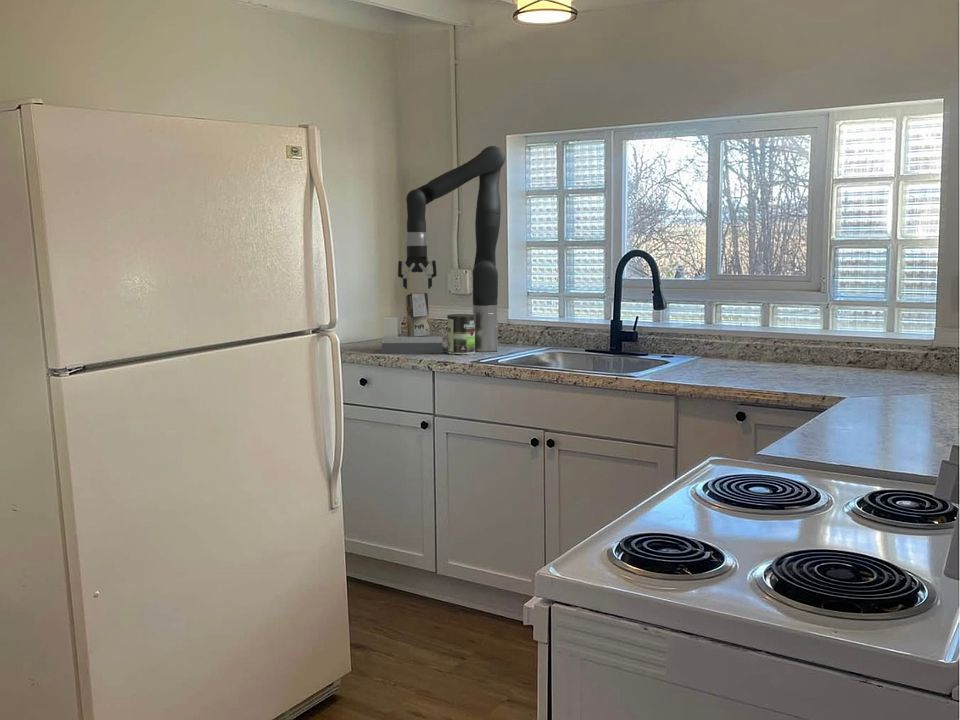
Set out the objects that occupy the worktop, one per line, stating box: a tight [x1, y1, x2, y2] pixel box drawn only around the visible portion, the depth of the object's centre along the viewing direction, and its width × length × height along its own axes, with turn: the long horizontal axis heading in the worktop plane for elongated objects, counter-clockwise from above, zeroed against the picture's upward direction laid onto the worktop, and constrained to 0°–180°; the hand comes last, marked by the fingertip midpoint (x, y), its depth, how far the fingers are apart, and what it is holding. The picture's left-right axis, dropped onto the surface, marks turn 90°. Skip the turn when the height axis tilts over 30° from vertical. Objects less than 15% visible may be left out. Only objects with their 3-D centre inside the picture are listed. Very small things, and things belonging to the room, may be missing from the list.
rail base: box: [381, 339, 444, 355], centre depth 338 cm, size 22×14×4 cm, turn 92°
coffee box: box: [405, 292, 431, 337], centre depth 338 cm, size 9×6×16 cm
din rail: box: [381, 332, 444, 344], centre depth 338 cm, size 22×13×2 cm, turn 92°
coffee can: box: [446, 313, 476, 356], centre depth 333 cm, size 10×10×14 cm
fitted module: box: [383, 315, 400, 337], centre depth 337 cm, size 5×9×8 cm, turn 2°
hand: (417, 288), depth 335 cm, fingers open, 8 cm apart
